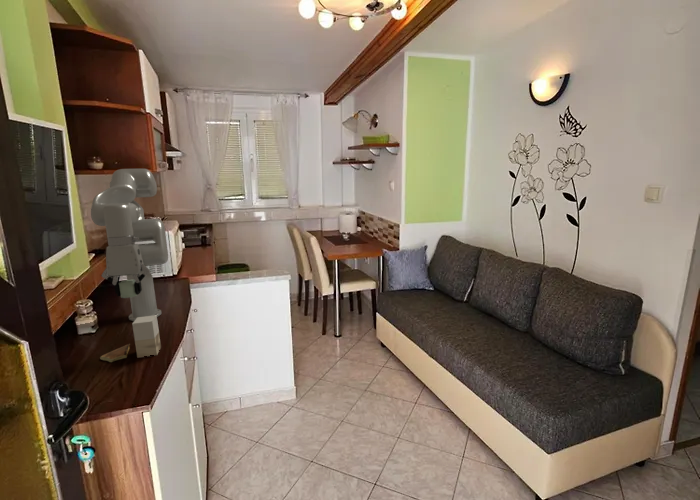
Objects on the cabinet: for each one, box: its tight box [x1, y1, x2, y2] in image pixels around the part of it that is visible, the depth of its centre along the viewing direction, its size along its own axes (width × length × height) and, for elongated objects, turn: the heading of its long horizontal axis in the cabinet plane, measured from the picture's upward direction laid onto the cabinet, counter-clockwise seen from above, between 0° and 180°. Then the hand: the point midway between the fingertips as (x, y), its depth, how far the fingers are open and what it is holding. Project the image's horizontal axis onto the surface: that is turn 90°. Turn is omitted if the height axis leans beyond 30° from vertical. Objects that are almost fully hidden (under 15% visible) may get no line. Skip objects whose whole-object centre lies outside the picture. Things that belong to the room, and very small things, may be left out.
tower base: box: [134, 331, 162, 358], centre depth 129 cm, size 6×6×6 cm
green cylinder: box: [119, 279, 137, 299], centre depth 129 cm, size 5×5×5 cm
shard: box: [99, 343, 131, 363], centre depth 129 cm, size 11×8×2 cm
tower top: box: [132, 315, 160, 342], centre depth 128 cm, size 6×6×6 cm
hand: (129, 293), depth 129 cm, fingers closed on green cylinder, 4 cm apart
